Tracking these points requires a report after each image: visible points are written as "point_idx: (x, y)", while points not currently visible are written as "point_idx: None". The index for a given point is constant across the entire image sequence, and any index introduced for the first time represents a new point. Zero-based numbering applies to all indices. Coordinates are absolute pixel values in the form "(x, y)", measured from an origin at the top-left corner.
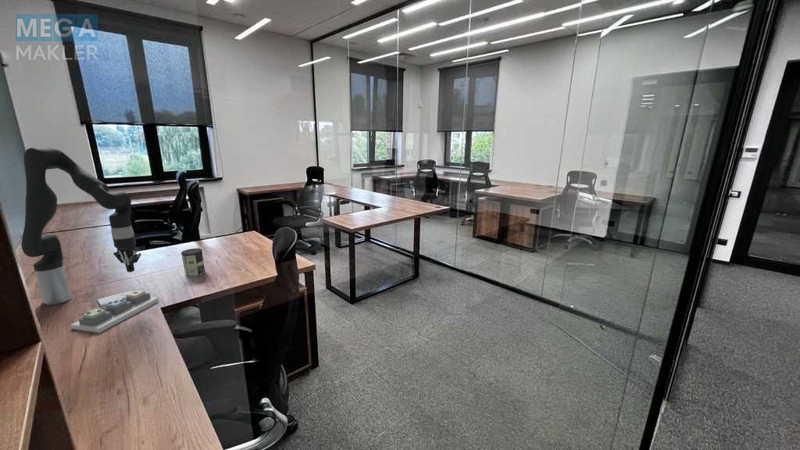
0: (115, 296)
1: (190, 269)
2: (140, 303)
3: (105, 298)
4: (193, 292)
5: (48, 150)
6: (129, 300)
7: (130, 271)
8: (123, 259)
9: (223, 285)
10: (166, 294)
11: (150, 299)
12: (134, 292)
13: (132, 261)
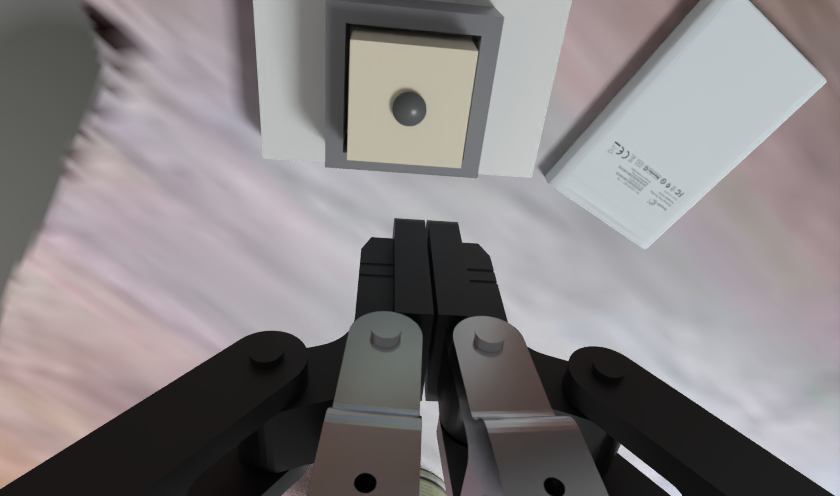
0: (695, 150)
1: None
2: (318, 26)
3: (761, 105)
4: (140, 302)
5: None
6: (408, 5)
7: (393, 232)
8: (495, 430)
9: (35, 409)
10: (320, 251)
11: (297, 115)
12: (421, 108)
13: (181, 396)
